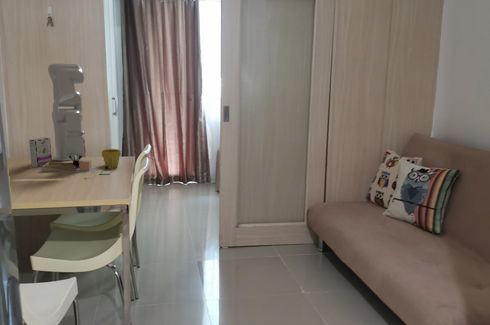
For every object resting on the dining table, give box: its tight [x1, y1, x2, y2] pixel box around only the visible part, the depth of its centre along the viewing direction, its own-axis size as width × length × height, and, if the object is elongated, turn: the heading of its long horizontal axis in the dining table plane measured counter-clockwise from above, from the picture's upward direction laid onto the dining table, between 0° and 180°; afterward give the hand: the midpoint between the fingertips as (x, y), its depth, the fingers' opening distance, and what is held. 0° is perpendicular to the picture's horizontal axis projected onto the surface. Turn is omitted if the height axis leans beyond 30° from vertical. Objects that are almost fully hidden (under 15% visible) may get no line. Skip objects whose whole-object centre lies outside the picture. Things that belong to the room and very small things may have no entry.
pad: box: [98, 170, 112, 176], centre depth 237 cm, size 7×7×1 cm
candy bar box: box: [28, 137, 53, 168], centre depth 249 cm, size 11×5×16 cm, turn 161°
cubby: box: [41, 162, 80, 172], centre depth 238 cm, size 10×17×3 cm, turn 98°
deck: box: [37, 165, 101, 174], centre depth 240 cm, size 18×29×1 cm, turn 98°
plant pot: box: [101, 148, 122, 169], centre depth 253 cm, size 10×10×10 cm
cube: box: [79, 159, 92, 171], centre depth 239 cm, size 5×5×5 cm
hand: (76, 167), depth 239 cm, fingers closed
